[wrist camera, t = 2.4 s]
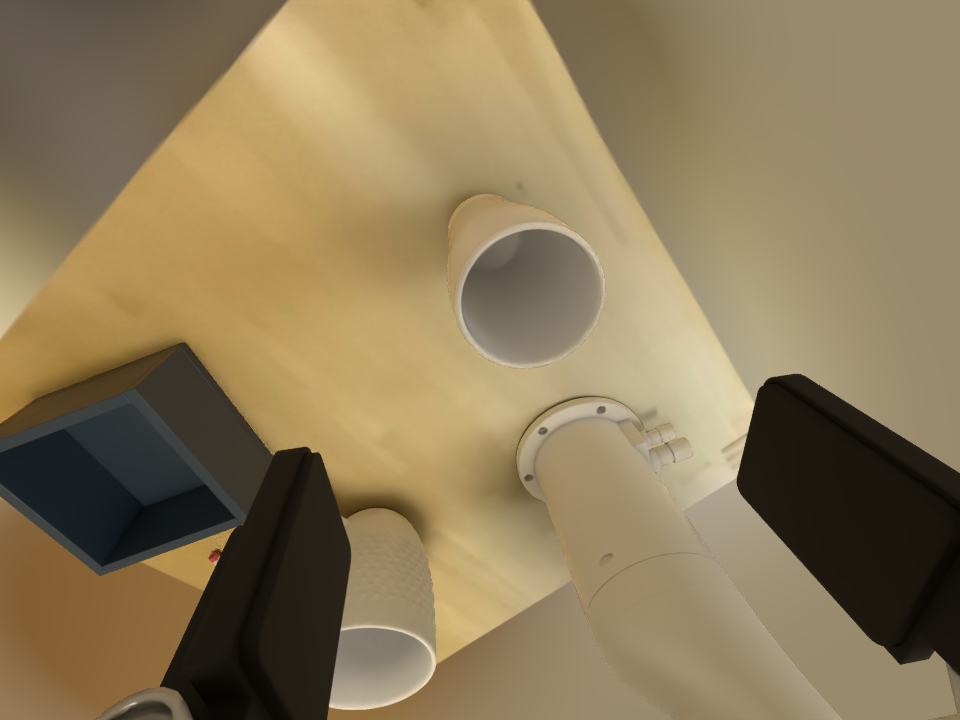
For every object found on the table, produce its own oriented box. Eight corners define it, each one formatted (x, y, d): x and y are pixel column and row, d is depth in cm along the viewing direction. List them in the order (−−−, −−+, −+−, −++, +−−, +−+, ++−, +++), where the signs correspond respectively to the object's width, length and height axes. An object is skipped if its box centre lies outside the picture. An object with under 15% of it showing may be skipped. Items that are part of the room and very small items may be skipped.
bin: (185, 341, 33) (134, 388, 27) (276, 461, 39) (251, 521, 33) (34, 399, 33) (-49, 458, 27) (147, 508, 39) (99, 576, 33)
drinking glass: (488, 159, 30) (545, 181, 17) (547, 233, 33) (637, 303, 19) (417, 229, 31) (418, 300, 18) (480, 294, 34) (520, 397, 21)
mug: (263, 506, 41) (204, 652, 29) (355, 445, 39) (330, 576, 28) (370, 582, 48) (356, 726, 36) (453, 533, 46) (465, 668, 34)
